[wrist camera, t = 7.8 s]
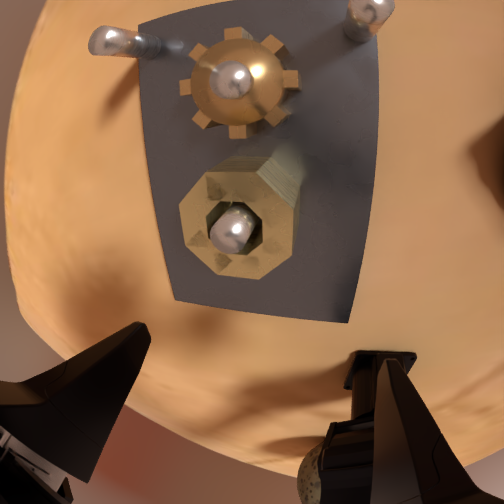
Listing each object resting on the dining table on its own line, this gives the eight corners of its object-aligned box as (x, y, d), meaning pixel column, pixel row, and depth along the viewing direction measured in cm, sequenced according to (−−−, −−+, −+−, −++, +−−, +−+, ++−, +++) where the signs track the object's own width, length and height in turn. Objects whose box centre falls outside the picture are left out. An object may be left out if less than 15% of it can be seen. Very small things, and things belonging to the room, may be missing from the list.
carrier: (347, 314, 21) (347, 373, 16) (180, 293, 25) (148, 338, 20) (370, 6, 10) (389, -34, 5) (146, 27, 13) (88, 14, 8)
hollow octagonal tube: (297, 247, 18) (290, 283, 15) (213, 240, 20) (189, 270, 16) (300, 157, 15) (294, 173, 12) (204, 156, 16) (174, 172, 13)
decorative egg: (381, 437, 32) (375, 518, 20) (339, 453, 38) (328, 522, 26) (331, 424, 32) (316, 518, 19) (292, 441, 38) (273, 517, 25)
